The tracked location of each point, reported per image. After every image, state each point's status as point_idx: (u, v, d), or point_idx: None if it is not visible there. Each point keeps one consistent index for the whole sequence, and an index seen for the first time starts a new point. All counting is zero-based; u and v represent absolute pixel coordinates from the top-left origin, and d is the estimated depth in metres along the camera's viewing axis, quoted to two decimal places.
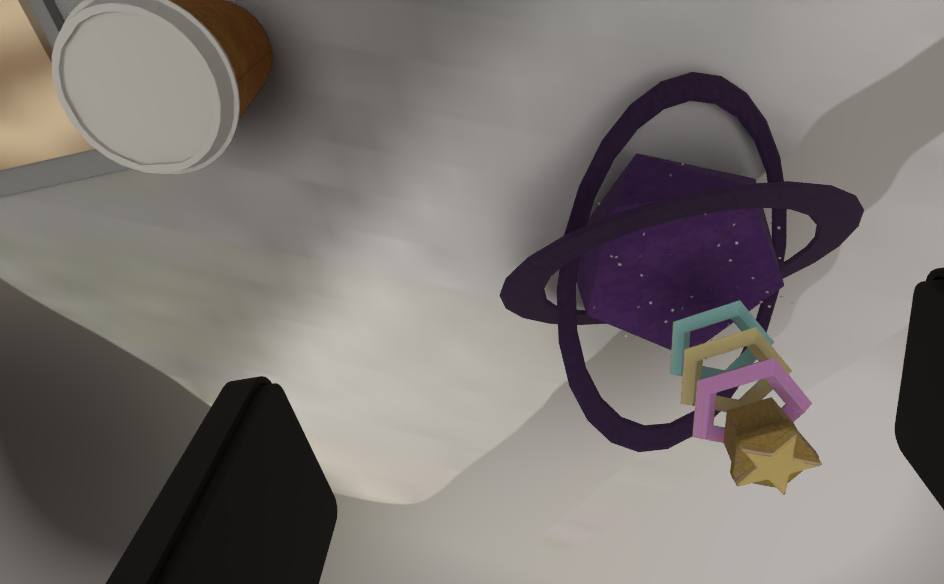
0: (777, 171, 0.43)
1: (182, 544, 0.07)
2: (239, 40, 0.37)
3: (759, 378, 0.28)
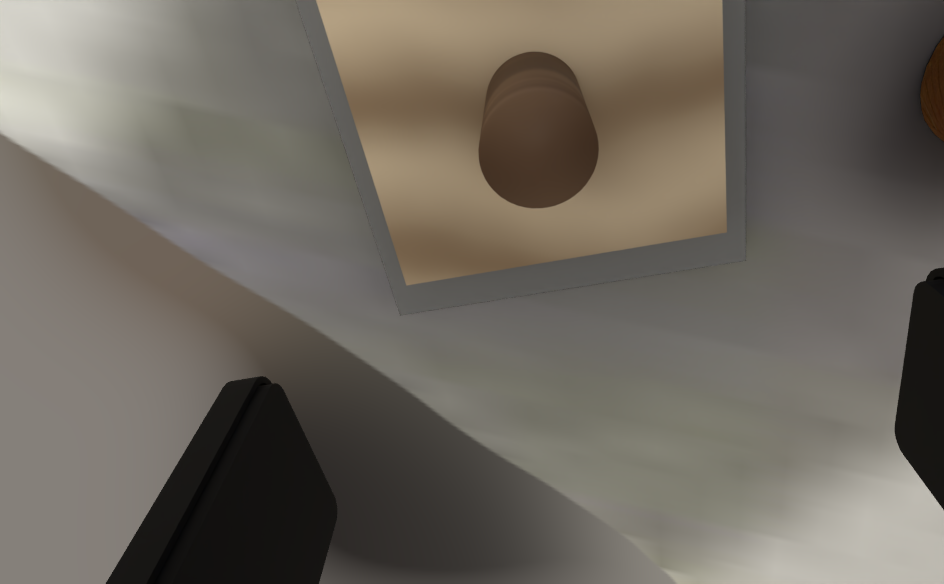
0: None
1: (182, 544, 0.07)
2: None
3: None
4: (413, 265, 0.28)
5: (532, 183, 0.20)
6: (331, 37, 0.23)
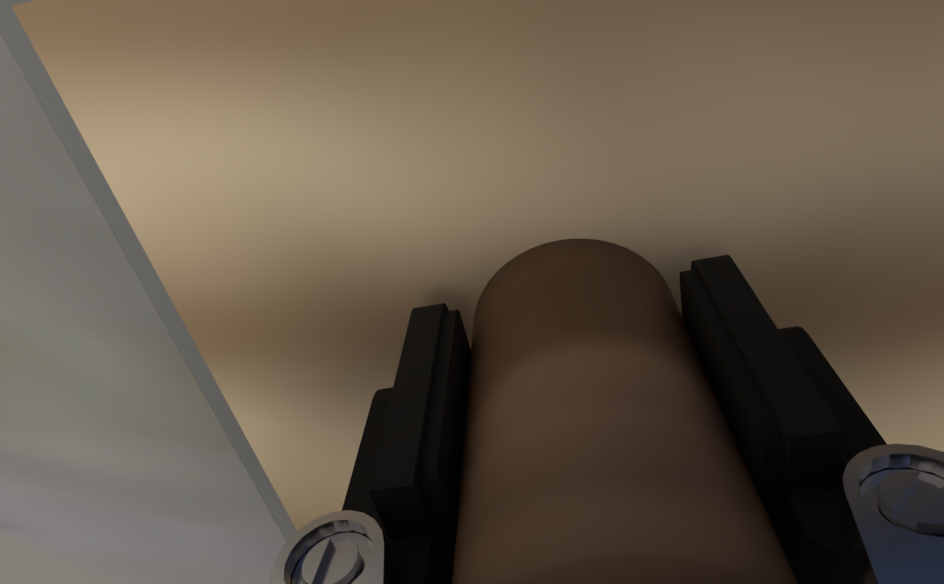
0: None
1: (430, 432, 0.08)
2: None
3: None
4: None
5: None
6: (129, 208, 0.11)
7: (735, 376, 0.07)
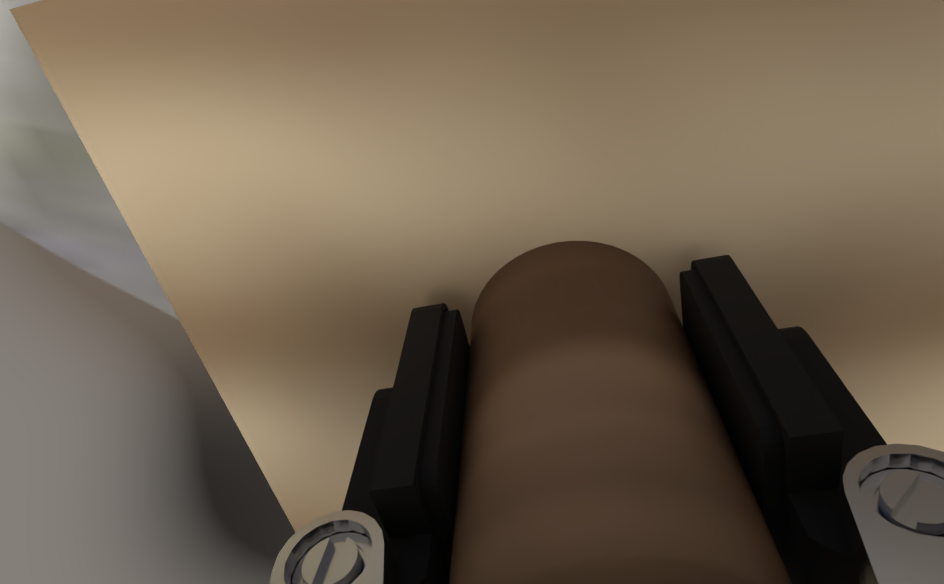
0: None
1: (430, 433, 0.08)
2: None
3: None
4: None
5: None
6: (128, 211, 0.11)
7: (735, 376, 0.07)
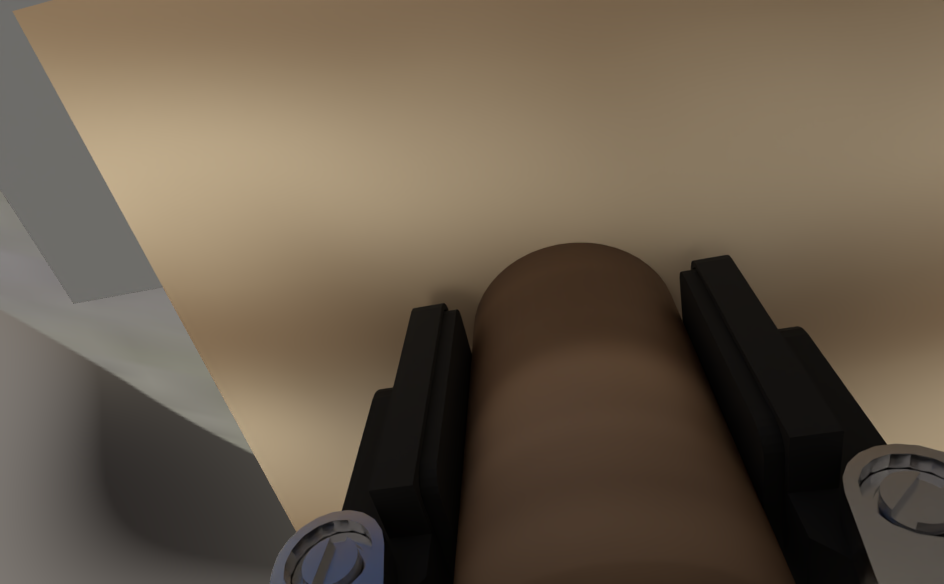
0: None
1: (430, 433, 0.08)
2: None
3: None
4: None
5: None
6: (130, 212, 0.11)
7: (735, 376, 0.07)
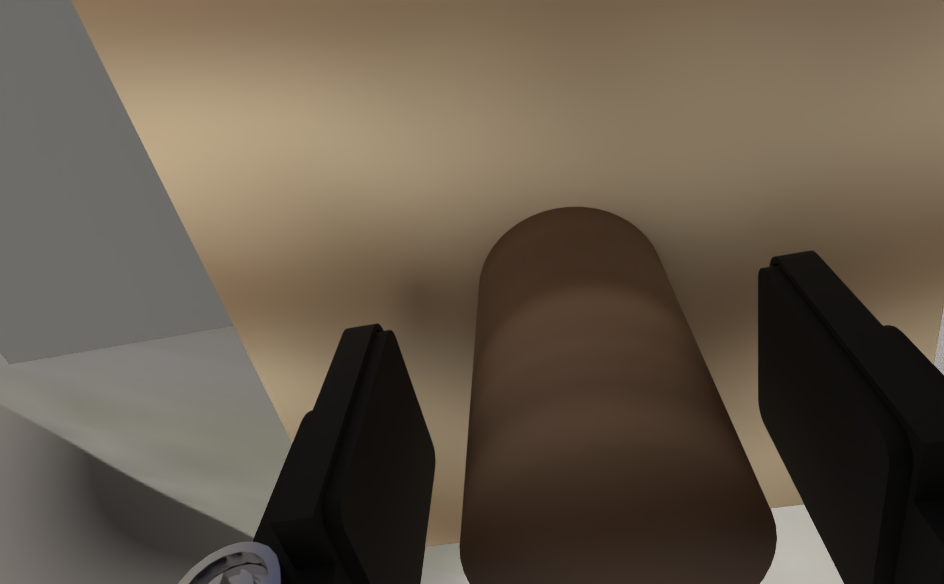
0: None
1: (341, 461, 0.08)
2: None
3: None
4: None
5: None
6: (168, 180, 0.12)
7: (845, 377, 0.07)
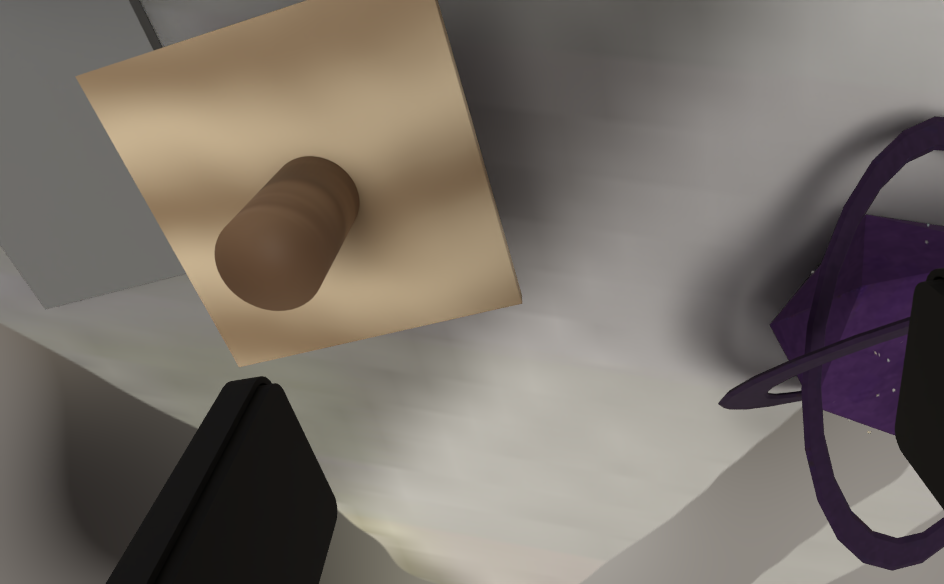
0: None
1: (182, 544, 0.07)
2: None
3: None
4: (241, 348, 0.30)
5: (272, 289, 0.21)
6: (122, 154, 0.26)
7: None
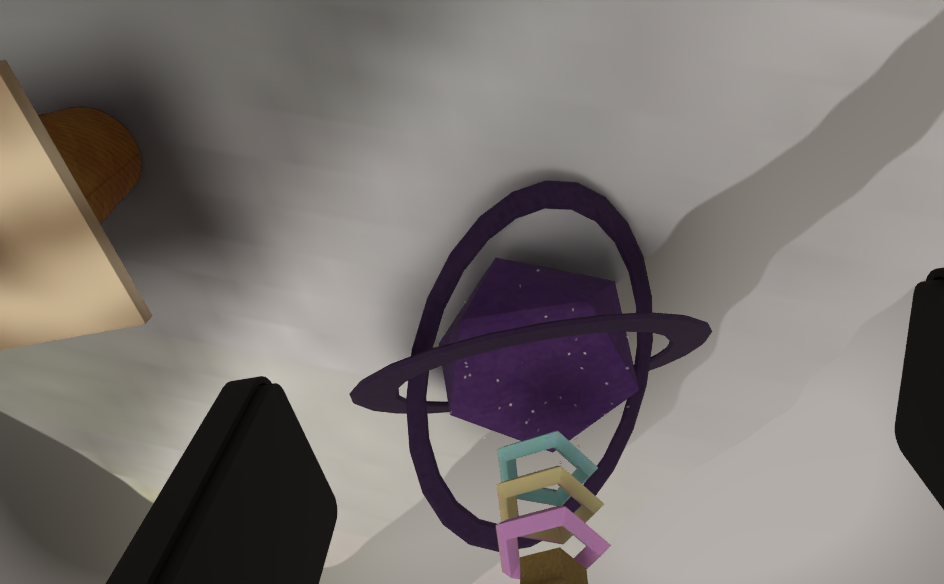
0: (640, 271, 0.43)
1: (182, 544, 0.07)
2: (87, 159, 0.37)
3: (550, 527, 0.28)
4: None
5: None
6: None
7: None
